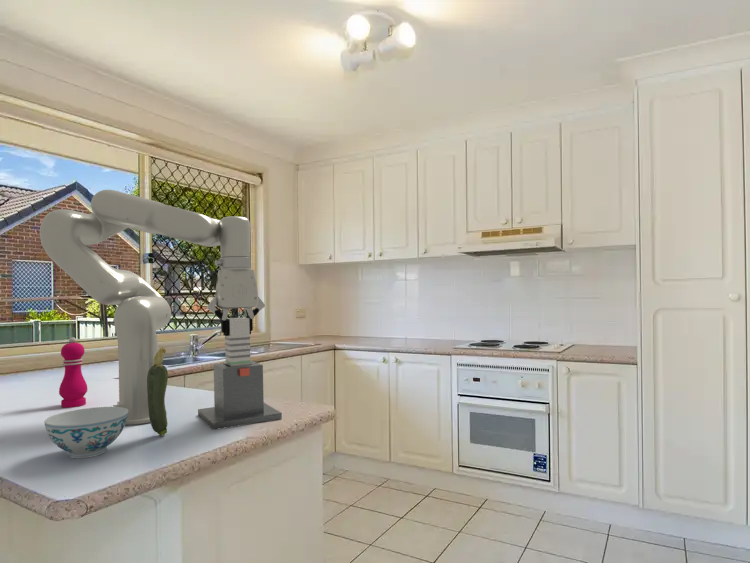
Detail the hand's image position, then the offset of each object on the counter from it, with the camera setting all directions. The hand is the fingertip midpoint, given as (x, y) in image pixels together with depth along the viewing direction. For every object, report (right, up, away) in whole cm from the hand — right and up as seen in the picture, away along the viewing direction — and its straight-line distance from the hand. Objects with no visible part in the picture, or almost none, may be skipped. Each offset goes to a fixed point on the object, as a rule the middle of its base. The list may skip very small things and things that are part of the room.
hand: (237, 334), depth 131 cm
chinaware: (-23, -22, -27) cm, 42 cm away
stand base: (+1, -21, 0) cm, 21 cm away
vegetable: (-14, -22, -16) cm, 30 cm away
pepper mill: (-53, -23, +18) cm, 61 cm away
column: (0, -14, 0) cm, 14 cm away
